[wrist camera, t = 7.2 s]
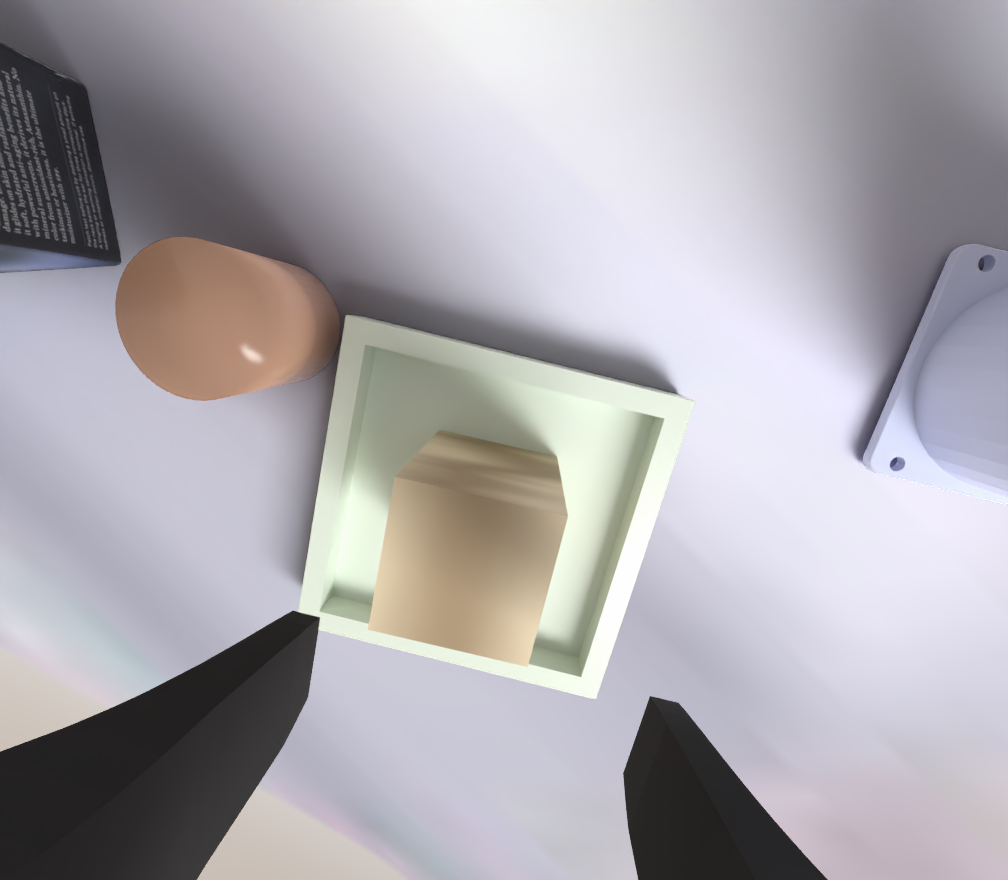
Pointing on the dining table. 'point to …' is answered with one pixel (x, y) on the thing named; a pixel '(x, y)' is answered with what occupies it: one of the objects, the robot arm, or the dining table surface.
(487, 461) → the maple block
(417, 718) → the dining table surface
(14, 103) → the small box
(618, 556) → the tray
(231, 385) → the peach rounded cylinder
